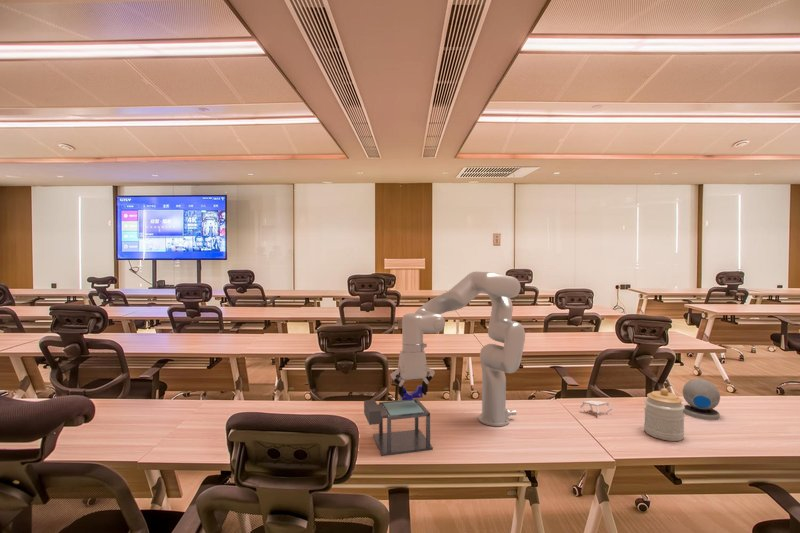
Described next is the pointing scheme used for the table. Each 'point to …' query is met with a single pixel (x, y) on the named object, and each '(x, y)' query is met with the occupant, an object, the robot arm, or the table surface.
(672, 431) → the jar
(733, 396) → the table surface
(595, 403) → the white legged frame
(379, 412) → the trapdoor
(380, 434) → the stand
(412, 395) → the cable holder
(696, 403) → the webcam
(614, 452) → the table surface
